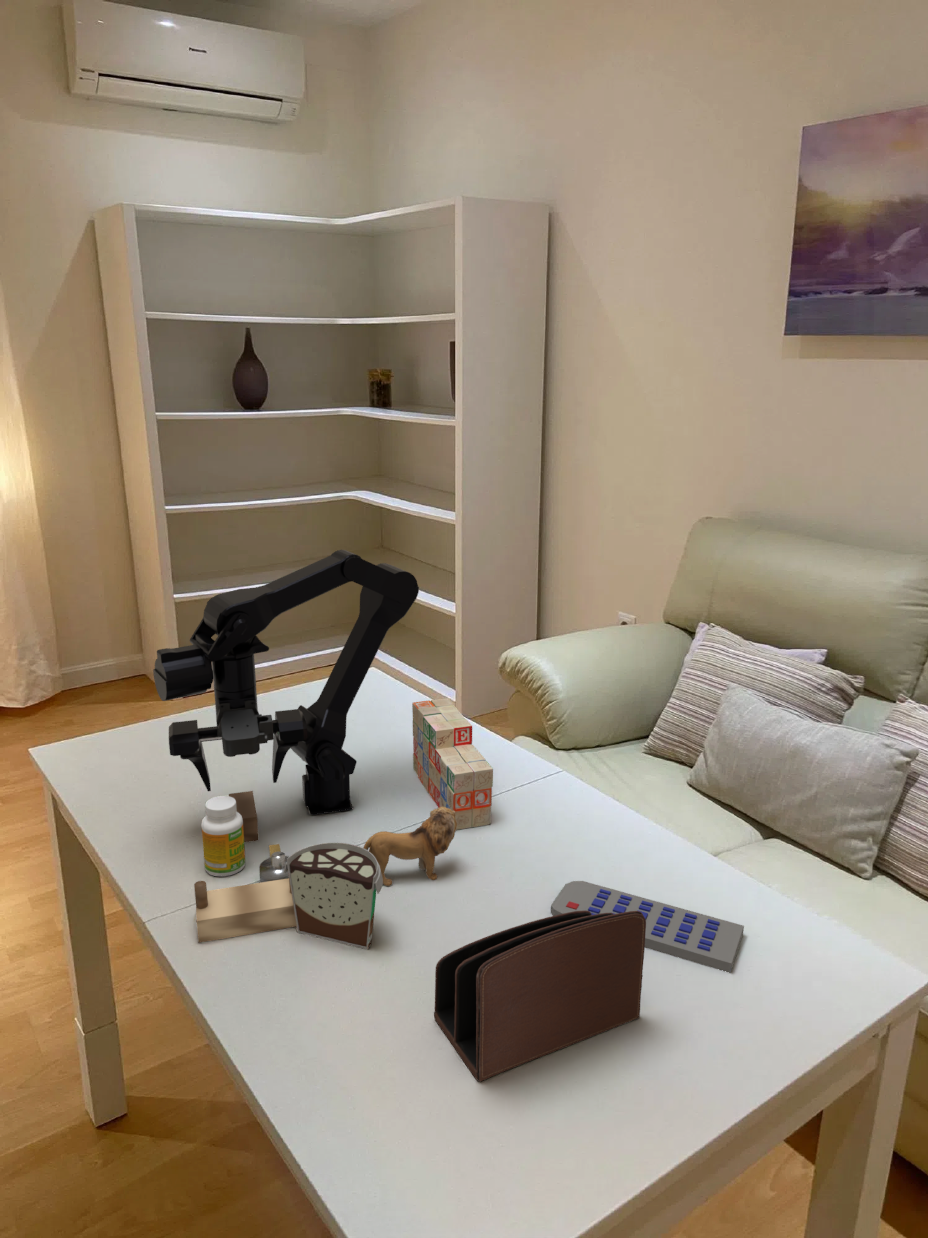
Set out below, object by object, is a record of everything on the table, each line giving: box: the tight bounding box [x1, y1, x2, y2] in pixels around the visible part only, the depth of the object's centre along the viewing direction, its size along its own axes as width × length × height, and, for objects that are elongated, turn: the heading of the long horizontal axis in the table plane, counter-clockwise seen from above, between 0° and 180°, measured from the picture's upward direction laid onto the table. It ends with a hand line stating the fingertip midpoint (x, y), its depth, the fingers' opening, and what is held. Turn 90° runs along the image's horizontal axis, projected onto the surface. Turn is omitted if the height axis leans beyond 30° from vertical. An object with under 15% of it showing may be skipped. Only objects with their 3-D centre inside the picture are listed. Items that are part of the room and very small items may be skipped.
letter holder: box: [433, 910, 646, 1082], centre depth 95 cm, size 10×20×14 cm, turn 118°
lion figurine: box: [362, 807, 457, 887], centre depth 121 cm, size 15×5×9 cm, turn 111°
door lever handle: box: [258, 843, 290, 883], centre depth 122 cm, size 5×8×4 cm, turn 17°
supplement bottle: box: [201, 795, 246, 877], centre depth 123 cm, size 5×5×10 cm
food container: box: [284, 842, 384, 950], centre depth 111 cm, size 12×6×10 cm, turn 71°
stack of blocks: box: [411, 697, 494, 831], centre depth 143 cm, size 21×6×12 cm, turn 19°
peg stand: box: [193, 878, 297, 944], centre depth 112 cm, size 13×6×6 cm, turn 107°
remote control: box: [550, 880, 745, 974], centre depth 113 cm, size 8×23×2 cm, turn 63°
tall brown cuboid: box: [228, 790, 260, 844], centre depth 133 cm, size 4×8×4 cm, turn 17°
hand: (242, 785), depth 132 cm, fingers open, 9 cm apart
